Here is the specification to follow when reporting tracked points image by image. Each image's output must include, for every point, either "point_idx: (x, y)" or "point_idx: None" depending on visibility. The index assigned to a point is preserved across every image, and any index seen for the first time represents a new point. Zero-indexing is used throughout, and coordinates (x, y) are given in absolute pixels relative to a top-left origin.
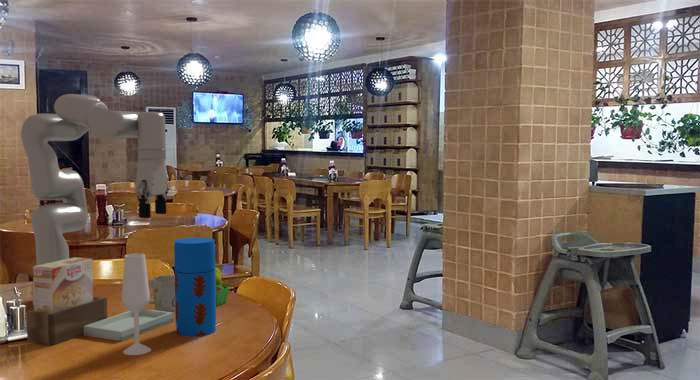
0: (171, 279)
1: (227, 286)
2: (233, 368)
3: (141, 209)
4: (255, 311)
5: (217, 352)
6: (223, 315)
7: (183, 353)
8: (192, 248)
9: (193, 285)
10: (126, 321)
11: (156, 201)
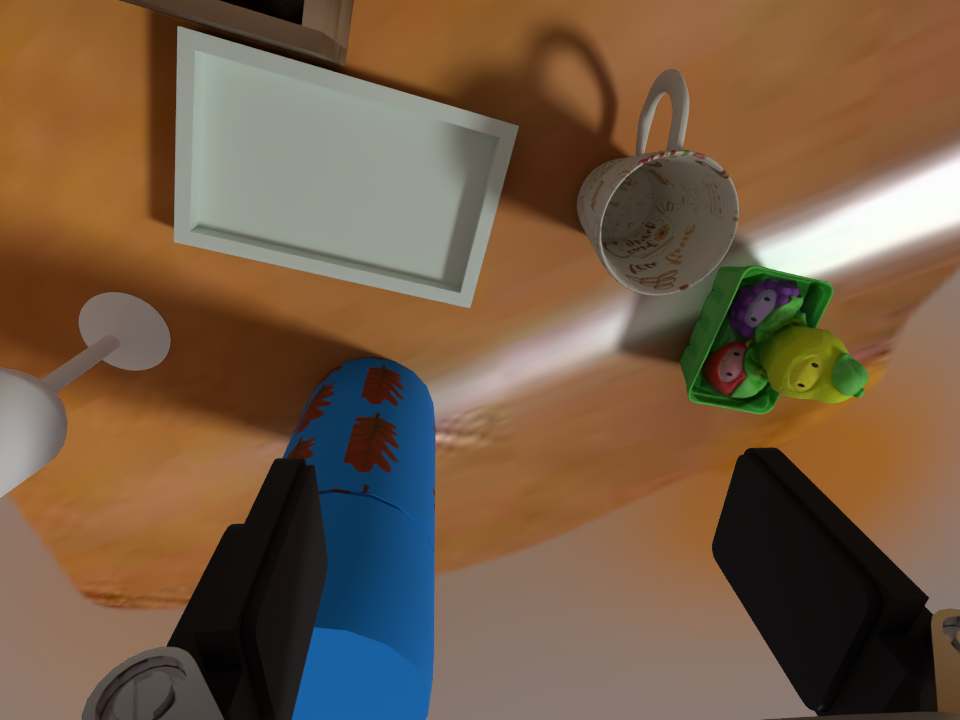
0: (719, 228)
1: (774, 401)
2: (119, 590)
3: (205, 591)
4: (614, 488)
5: (209, 526)
6: (560, 421)
7: (165, 459)
8: None
9: None
10: (381, 144)
11: (855, 602)
